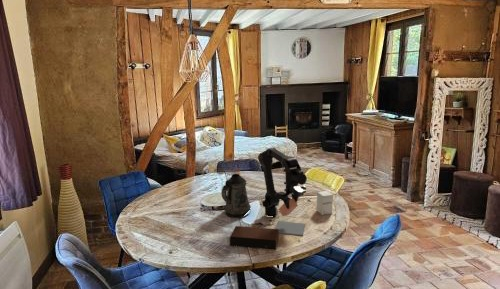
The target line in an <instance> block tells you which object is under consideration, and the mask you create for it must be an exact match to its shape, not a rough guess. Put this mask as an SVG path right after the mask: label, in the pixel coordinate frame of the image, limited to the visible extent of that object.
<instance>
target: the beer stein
mask: <svg viewBox="0 0 500 289" xmlns="http://www.w3.org/2000/svg"><path fill="white" fill-rule="evenodd" d="M246 186H247V180H246V179H245V178H243V177H242V176H241V175H240V174H239V173H233V174H232V175H231V177H230V178H228V179H227V180H226V181H225V184H224V185H223V186H222V189H221V193H220V194H221V197H222V200H223V201H224V202H225V205H224V212H225V215H226V216H227V217H230V218H232V219H234V218H235V219H240V218H241V219H242V218H244V217H243V216H244V215H245V214H246V213H247V212H248V211H249V210H250V211H251V209H252V207H251V204H250V202H249V198H248V192H247V187H246ZM250 208H251V209H250Z"/></svg>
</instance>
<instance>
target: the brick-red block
mask: <svg viewBox="0 0 500 289" xmlns="http://www.w3.org/2000/svg"><path fill="white" fill-rule="evenodd" d="M297 207H299V205H298V202H297V203H296V202H295V200H294V198H292V197H291V199H290V200H289V209H287V208H286V206H285V204H284V203H283V204H282V205H281V206H279V208H278V211H279V213H280V214H281V216H282V217H283V218H284V217H286V216H289V215H290V214H291V213H292V212H294V210H295V209H296V208H297Z"/></svg>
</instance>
